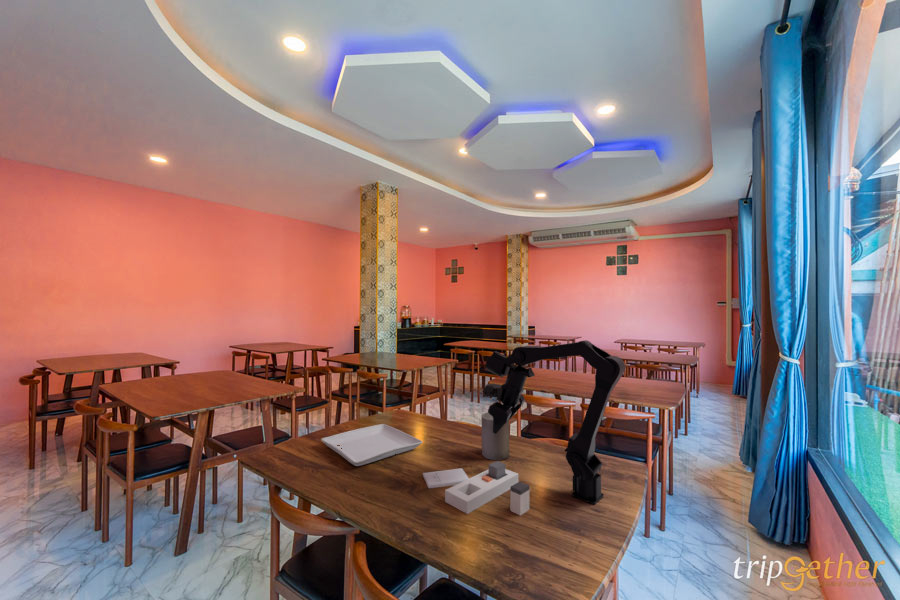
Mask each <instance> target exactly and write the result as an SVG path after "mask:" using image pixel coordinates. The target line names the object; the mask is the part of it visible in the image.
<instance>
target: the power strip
mask: <svg viewBox="0 0 900 600" xmlns="http://www.w3.org/2000/svg"><path fill="white" fill-rule="evenodd" d="M468 478H469V479H467V480H465V481H463V482H461V483H459V484H457V485H452V486H451V487H449V488H447V489H445V490H444V502H445V503H446V504H448V505H450V506H452V507H454V508H455V509H458V510H459V511H461V512H463V513H464V514H466V515H468V514H470V513H472V512H474V511H476V510H477V509H478V508H480V507H482V506H484V505H485V504H487V503H489V502H491V501H493V500H494V499H496V498H498V497H499V496H501V495H503V494H505V493H506V492H508V491H510V487H511V486H513V485H514V484H516V483H518V482H519V473H517V472H514V471H512V470H510V469H508V468H505V476H504V477H502V478H500V479H498V480H496V479H493V478H491V477H489V468H488V469H486V470H484V471H483V472H480V473H477V474H476V475H474V476H471V477H468Z"/></svg>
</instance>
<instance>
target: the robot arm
mask: <svg viewBox="0 0 900 600" xmlns="http://www.w3.org/2000/svg"><path fill="white" fill-rule="evenodd" d="M577 356H580V357H582V358H583V359H584V361H586V362H587V363H588V364H589V365H590V367H592V368H593V369H595V375H594V389H593V393H592V395H591V398H590V401H589V403H588V407H587V409H586V412H585V414H584V415H585V416H584V418H583V421H582V424H581V427H580V430H579V432H575V433H574V434H572V435H571V436H570V437H569V438H568V441H567V446H566V448H565V449H564V452H566V453H565V459H566V461H567V463H568V464H569V466H570V468H571V471H572V474H573V475H572V492H571V494H570V495H571V496H572V497H574V498H576V499H579V500H581V501H584V502H586V503H589V504H591V505H596V503H598V502H599V501H600V500H601V499H603V498H604V497H605V494H604V493H603V492H602V474H599V471H601V469H602V466H603V465H604V464H603V462H602V461H601V460H600V458H598V457H597V455H596V454H595V450H596V436H597V433H598V431H599V428H600V425H601V422H602V419H603V416H604V414H605V411H606V408H607V405H608V402H609V399H610V397H611V394H612V391H613V390H614V389H615V387H616V385H617V384H619V381H620V380H621V378H622V377H623V375H624V373H625V371H626V368H627V367H626V364H625V362H624V360H623V359H622V358H621V357H619V356H616V355H611V354H610V353H609V352H607V351H605V350H604V349H602V348H600V347H598V346H596V345H595V344H594V343H592V342H591V341H589V340H580V341H575V342H571V343H568V342H567V343H562V344H557V345H556V344H554V345H549V346H538V345H522V346H517V347H515V348H514V349H512V352H511V354H509V355H507V356H506V355H504V354H503V353H500V352H499V351H496V350H495V351H493V352H492V354H491V355H490V356H489V357H488V359H487V360H486V363H485V370H487V371H488V372H491V373H493V374H494V375H497V376H498V377H500V378H503V377H504V376H505V377H506V379H505V381H504V383H503V384H499V383H487V384H486V385H485V386H484V387H483V390H482V393H483V394H484V397H485V398H486V397H487V398H489V397H490V398H496V400H497V401H495V402H492V403H491V404H490V405H489V407H488V410H487V413H489V414H490V415H492V417H493V433H495V434H497V432H498V431H499V430H500V429H501V428H502V427H503V426H504V424H506V423H507V422H508V421H509V422H510V419H512V418H513V416H514V415H515V414H516V413H517V412H518V411H519V409H521V407H523V405H524V402H525V400H526V399H525V396H524V394H522V393H523V392H524V389H525V388H524V386H525V383H526V380H527V378H533V377H534V376H535V372H534V371H533V368H532V367H528V368H527V367H525V366H527V365H530V364H534V363H537V362H540V361H543V360H550V359H557V358H567V357H568V358H569V357H577Z"/></svg>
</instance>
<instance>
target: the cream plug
mask: <svg viewBox="0 0 900 600" xmlns="http://www.w3.org/2000/svg"><path fill="white" fill-rule="evenodd" d="M509 491H510V496H509V497H510V502H509V504H510V507H509V509H510V511H511V512H513V513H514V514H516V515H518V516H522V515H524V514H525V513H526V512H528V511H530V485H528V484H527V483H524V482H522V481H518V483H516V484H514V485H513V486H511V487H510V490H509Z"/></svg>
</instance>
